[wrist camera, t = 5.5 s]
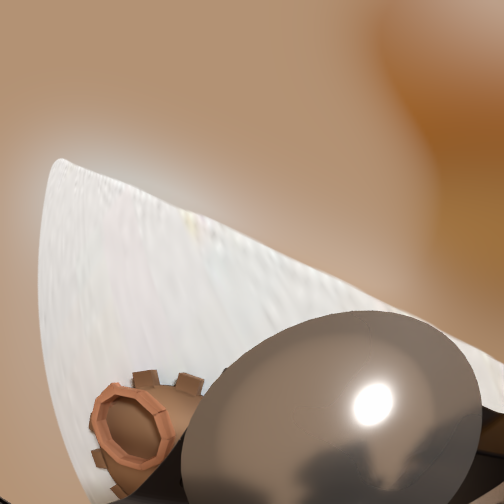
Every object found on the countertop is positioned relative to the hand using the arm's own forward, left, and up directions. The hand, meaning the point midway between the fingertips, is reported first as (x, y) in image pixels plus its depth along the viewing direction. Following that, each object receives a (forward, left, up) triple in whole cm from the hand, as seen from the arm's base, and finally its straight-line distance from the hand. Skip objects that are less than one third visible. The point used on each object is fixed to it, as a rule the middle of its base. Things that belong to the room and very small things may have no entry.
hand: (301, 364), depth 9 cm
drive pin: (-1, 0, -7) cm, 7 cm away
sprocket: (-9, +10, -12) cm, 18 cm away
